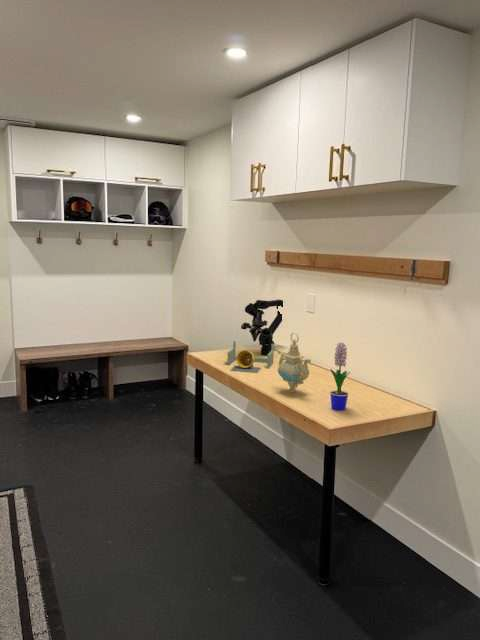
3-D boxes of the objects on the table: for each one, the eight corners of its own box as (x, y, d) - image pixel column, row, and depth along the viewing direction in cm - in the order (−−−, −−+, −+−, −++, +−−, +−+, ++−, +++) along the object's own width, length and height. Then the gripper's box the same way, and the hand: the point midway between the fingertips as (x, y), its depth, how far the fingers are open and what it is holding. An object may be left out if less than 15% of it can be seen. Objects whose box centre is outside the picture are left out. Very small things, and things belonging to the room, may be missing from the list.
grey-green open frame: (233, 359, 313) (233, 341, 311) (273, 362, 307) (273, 343, 305) (227, 365, 298) (227, 345, 296) (269, 368, 293) (269, 348, 291)
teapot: (317, 396, 239) (320, 335, 235) (298, 400, 233) (300, 337, 229) (287, 384, 259) (289, 328, 255) (269, 387, 253) (270, 329, 249)
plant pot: (236, 359, 300) (232, 358, 291) (249, 347, 299) (245, 346, 290) (247, 372, 298) (243, 371, 288) (260, 360, 297) (256, 359, 287)
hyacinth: (328, 411, 218) (331, 344, 214) (328, 404, 228) (331, 340, 224) (348, 413, 216) (352, 345, 212) (347, 405, 226) (351, 341, 222)
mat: (234, 366, 297) (234, 365, 297) (261, 368, 293) (261, 367, 293) (230, 370, 285) (230, 370, 285) (257, 373, 282) (257, 372, 282)
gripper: (248, 311, 308) (245, 334, 303) (275, 318, 314) (273, 341, 308) (242, 316, 318) (239, 339, 313) (268, 323, 324) (266, 345, 318)
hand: (254, 341), depth 313 cm, fingers closed
